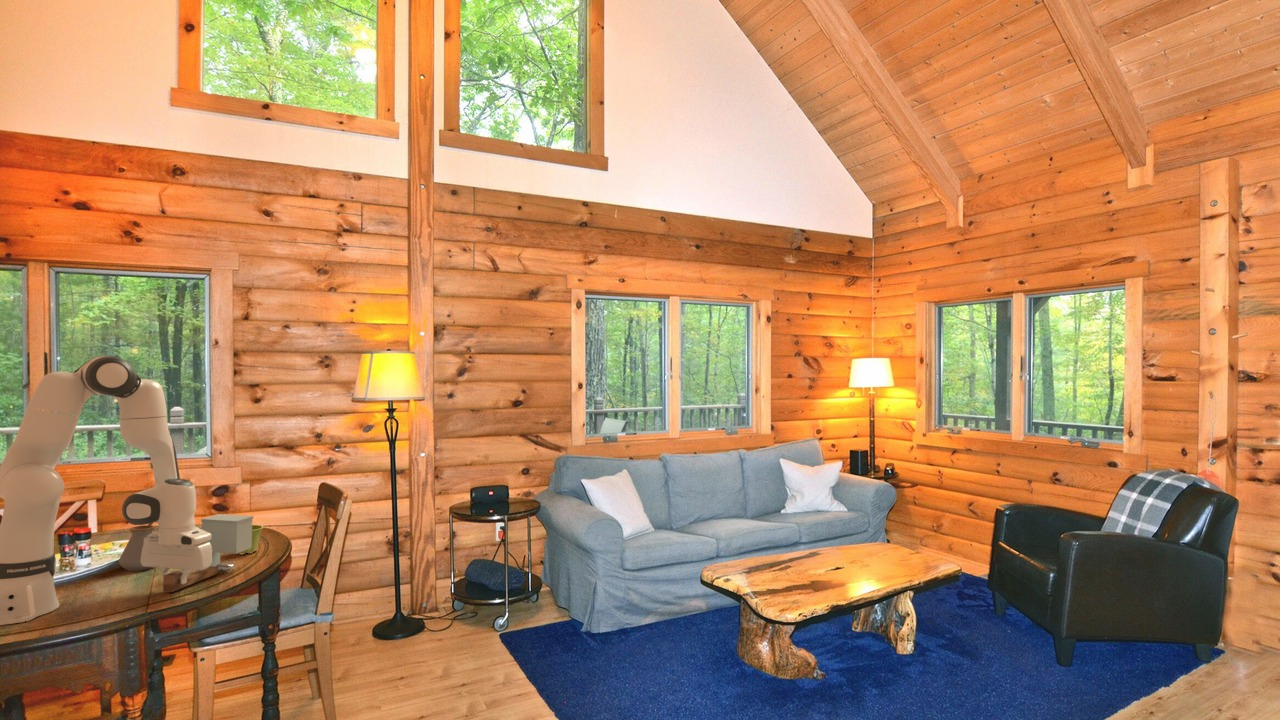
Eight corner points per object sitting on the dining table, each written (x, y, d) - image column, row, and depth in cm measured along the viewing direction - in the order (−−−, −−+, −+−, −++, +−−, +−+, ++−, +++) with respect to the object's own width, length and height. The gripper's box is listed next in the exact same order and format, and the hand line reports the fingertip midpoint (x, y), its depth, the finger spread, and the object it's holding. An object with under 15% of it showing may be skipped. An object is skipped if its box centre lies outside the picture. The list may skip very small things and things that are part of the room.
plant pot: (241, 548, 238) (242, 524, 238) (267, 549, 238) (268, 524, 238) (225, 555, 229) (226, 530, 229) (252, 556, 229) (253, 531, 229)
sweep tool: (172, 591, 191) (173, 576, 191) (163, 591, 191) (163, 575, 191) (218, 573, 208) (218, 558, 208) (209, 572, 208) (210, 558, 208)
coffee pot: (156, 571, 211) (157, 523, 211) (112, 574, 206) (113, 525, 207) (176, 553, 231) (177, 509, 231) (136, 555, 226) (137, 511, 227)
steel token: (217, 574, 210) (217, 568, 210) (214, 570, 213) (214, 564, 213) (235, 571, 213) (235, 565, 213) (232, 567, 217) (232, 561, 217)
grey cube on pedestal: (235, 574, 209) (237, 521, 209) (199, 572, 211) (201, 519, 211) (251, 567, 217) (253, 516, 217) (216, 565, 218) (218, 514, 218)
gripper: (135, 535, 192) (133, 584, 191) (200, 540, 189) (198, 588, 189) (153, 530, 198) (152, 577, 198) (216, 534, 195) (215, 581, 195)
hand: (175, 582), depth 193 cm, fingers closed on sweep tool, 3 cm apart
